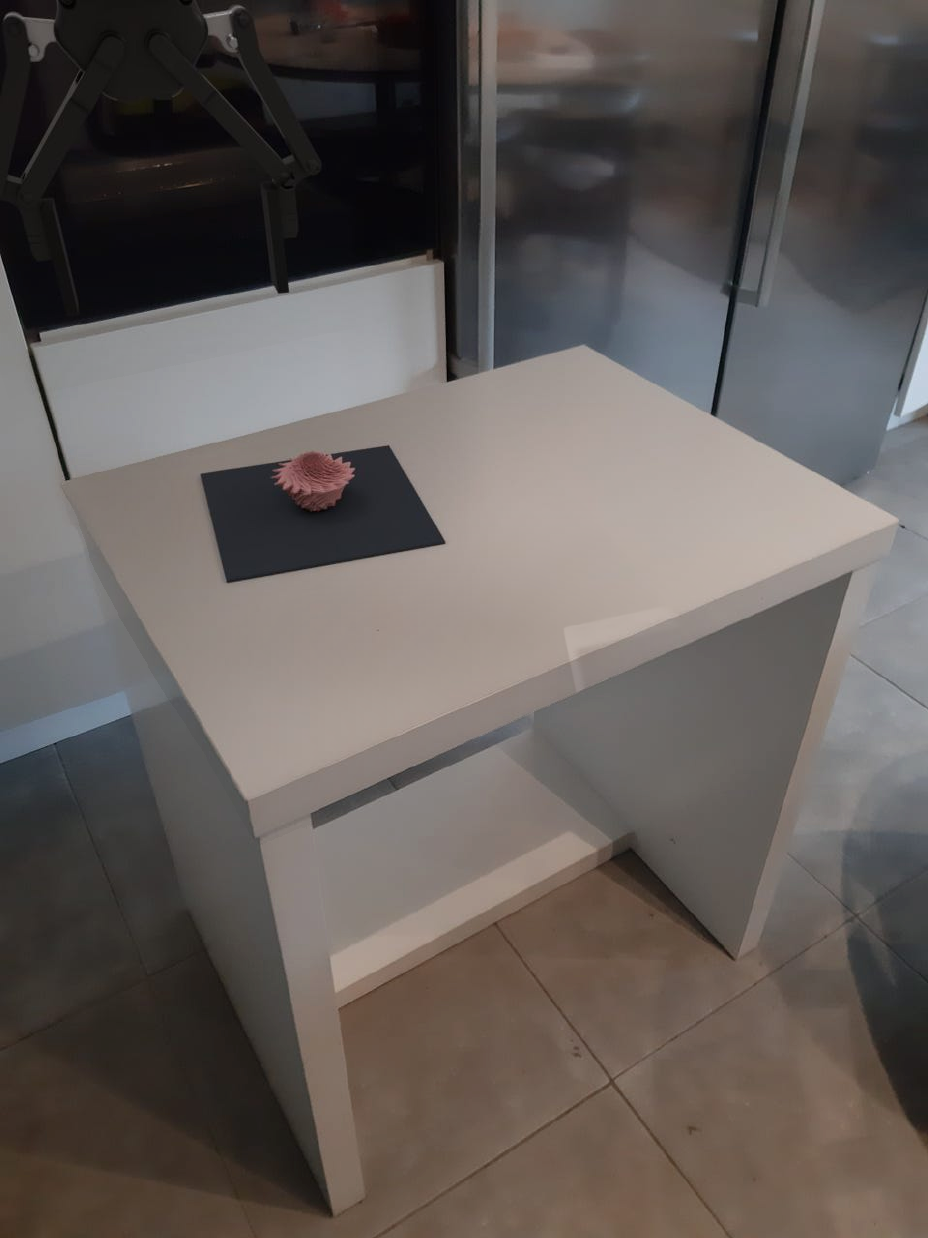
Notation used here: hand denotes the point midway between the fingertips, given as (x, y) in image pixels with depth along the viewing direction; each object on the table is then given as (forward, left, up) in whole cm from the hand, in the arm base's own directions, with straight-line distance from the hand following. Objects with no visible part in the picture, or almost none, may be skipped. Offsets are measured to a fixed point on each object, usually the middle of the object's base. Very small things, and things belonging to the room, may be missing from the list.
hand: (179, 298), depth 66 cm
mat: (+10, +15, -27) cm, 32 cm away
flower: (+10, +15, -27) cm, 32 cm away
